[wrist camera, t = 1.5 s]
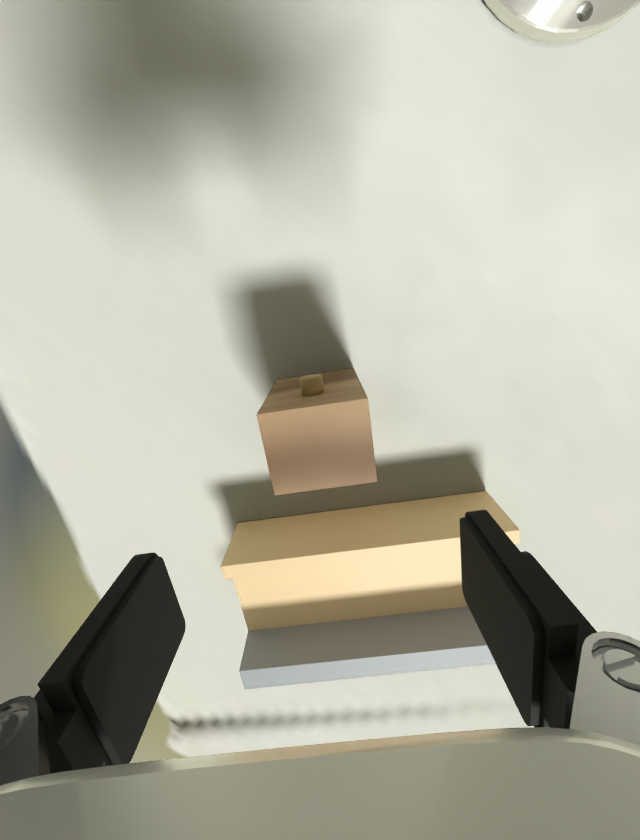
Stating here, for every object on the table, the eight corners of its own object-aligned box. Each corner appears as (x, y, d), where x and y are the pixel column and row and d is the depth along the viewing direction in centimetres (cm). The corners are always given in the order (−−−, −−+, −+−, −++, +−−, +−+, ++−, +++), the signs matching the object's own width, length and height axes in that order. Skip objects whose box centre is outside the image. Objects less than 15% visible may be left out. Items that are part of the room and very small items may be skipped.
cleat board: (237, 522, 32) (212, 587, 24) (485, 490, 30) (535, 548, 23) (260, 610, 35) (245, 689, 28) (486, 584, 34) (530, 660, 26)
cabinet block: (274, 367, 27) (252, 396, 19) (351, 355, 27) (365, 379, 18) (288, 438, 29) (274, 495, 20) (360, 428, 29) (377, 481, 20)
